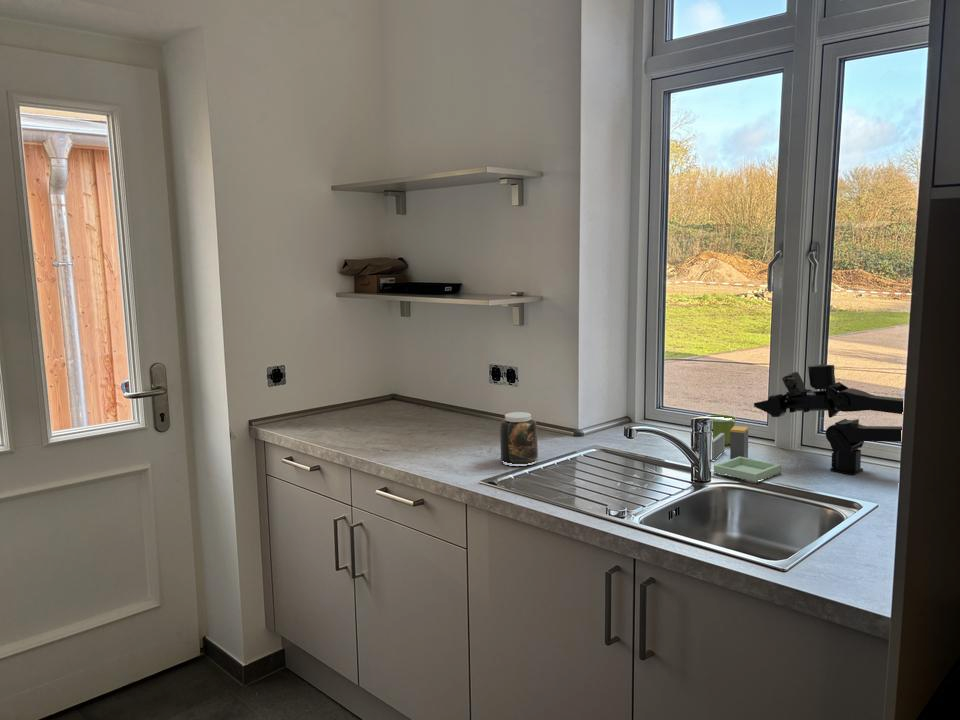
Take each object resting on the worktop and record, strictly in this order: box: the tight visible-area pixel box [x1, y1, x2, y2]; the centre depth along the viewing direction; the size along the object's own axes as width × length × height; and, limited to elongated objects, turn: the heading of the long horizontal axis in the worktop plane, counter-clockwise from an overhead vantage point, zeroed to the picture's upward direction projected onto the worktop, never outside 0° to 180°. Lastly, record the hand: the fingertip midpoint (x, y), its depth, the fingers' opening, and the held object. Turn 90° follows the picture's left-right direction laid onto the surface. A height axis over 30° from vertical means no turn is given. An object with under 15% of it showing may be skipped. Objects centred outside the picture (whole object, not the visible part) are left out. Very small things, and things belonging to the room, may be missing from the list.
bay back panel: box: [712, 433, 726, 461], centre depth 228 cm, size 1×12×6 cm, turn 147°
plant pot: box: [707, 414, 737, 446], centre depth 243 cm, size 9×9×9 cm
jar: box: [499, 411, 539, 464], centre depth 230 cm, size 12×12×15 cm
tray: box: [713, 456, 782, 484], centre depth 210 cm, size 13×13×2 cm
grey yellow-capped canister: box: [729, 425, 749, 460], centre depth 225 cm, size 4×5×10 cm
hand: (761, 402), depth 225 cm, fingers open, 9 cm apart
